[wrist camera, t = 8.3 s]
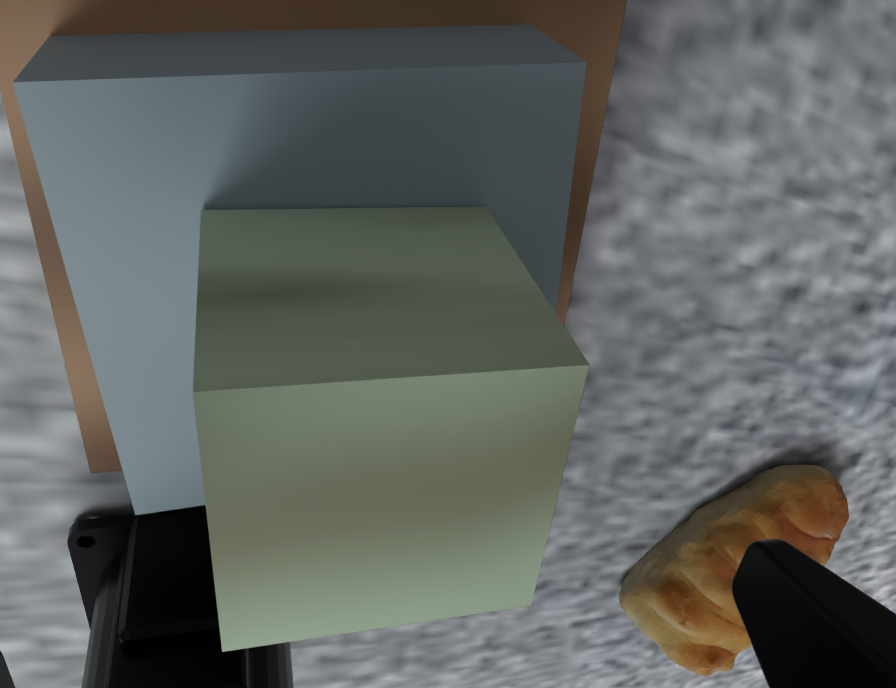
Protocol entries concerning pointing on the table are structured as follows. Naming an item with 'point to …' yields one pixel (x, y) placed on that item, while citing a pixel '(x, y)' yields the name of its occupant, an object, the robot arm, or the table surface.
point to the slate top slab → (273, 176)
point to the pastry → (727, 562)
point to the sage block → (374, 418)
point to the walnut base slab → (265, 9)
